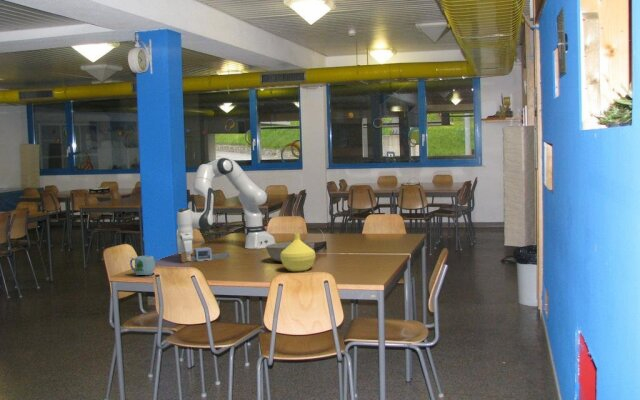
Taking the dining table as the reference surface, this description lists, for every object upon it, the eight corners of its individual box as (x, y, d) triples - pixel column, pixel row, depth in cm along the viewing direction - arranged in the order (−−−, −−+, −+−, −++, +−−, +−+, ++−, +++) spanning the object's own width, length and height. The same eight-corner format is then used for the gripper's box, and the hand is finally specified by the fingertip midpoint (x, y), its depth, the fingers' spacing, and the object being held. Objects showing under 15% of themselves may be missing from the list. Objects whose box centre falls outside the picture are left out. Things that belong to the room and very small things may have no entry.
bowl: (304, 265, 365) (303, 247, 365) (258, 264, 375) (257, 247, 374) (321, 256, 391) (320, 239, 390) (278, 256, 401) (277, 240, 400)
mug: (124, 276, 359) (123, 258, 358) (137, 272, 369) (135, 254, 368) (148, 277, 353) (146, 258, 352) (160, 273, 363) (159, 254, 363)
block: (190, 260, 403) (189, 252, 403) (191, 261, 398) (190, 253, 398) (181, 261, 402) (181, 252, 401) (182, 262, 397) (181, 254, 396)
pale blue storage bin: (209, 258, 409) (208, 246, 408) (212, 260, 400) (211, 248, 400) (194, 259, 406) (193, 248, 405) (196, 261, 397) (196, 250, 397)
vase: (288, 266, 362) (286, 231, 361) (320, 266, 357) (318, 231, 356) (276, 273, 345) (274, 236, 344) (310, 273, 340) (308, 235, 338)
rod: (228, 257, 408) (228, 252, 408) (229, 258, 406) (229, 253, 405) (190, 261, 402) (190, 256, 402) (190, 262, 399) (190, 257, 399)
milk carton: (188, 254, 427) (186, 225, 426) (178, 255, 429) (176, 225, 427) (192, 253, 434) (191, 223, 433) (182, 253, 436) (180, 224, 434)
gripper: (178, 234, 408) (179, 256, 409) (182, 237, 388) (183, 261, 389) (188, 233, 410) (190, 255, 411) (193, 236, 390) (194, 260, 391)
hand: (187, 258), depth 400 cm, fingers closed on block, 5 cm apart
